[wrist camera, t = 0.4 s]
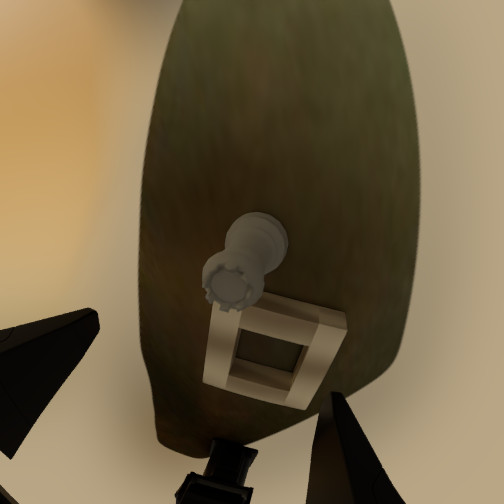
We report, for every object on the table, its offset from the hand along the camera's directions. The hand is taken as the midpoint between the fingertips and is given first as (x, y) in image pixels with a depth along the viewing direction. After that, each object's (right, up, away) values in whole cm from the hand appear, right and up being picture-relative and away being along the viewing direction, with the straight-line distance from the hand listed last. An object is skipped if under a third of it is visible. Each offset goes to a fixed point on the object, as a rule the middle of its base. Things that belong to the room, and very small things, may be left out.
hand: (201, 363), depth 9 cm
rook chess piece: (+2, +5, +12) cm, 13 cm away
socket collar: (+3, -4, +14) cm, 15 cm away
